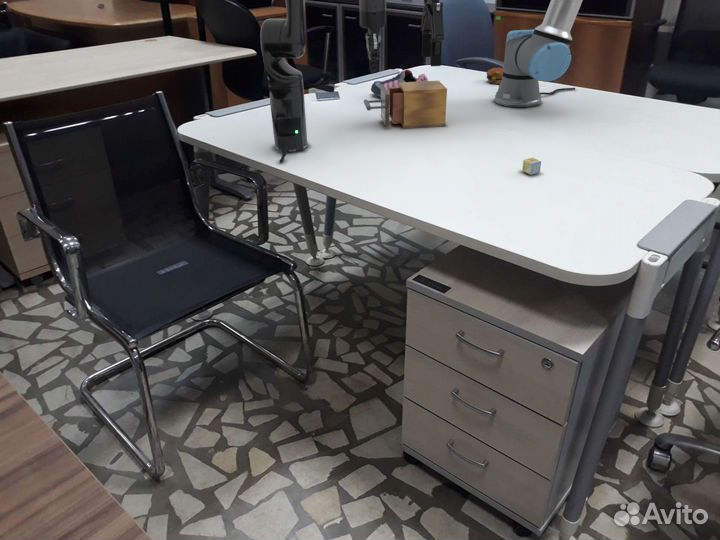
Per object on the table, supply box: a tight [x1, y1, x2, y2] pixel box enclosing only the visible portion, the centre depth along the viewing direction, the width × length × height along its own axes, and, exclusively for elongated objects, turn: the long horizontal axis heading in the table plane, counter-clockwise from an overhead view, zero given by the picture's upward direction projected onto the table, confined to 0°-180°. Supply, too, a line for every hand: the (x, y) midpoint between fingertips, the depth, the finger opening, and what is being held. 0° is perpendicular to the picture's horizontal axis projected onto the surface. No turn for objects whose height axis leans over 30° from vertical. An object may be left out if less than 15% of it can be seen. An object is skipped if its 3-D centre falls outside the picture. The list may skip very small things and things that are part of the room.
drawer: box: [363, 87, 404, 127], centre depth 174 cm, size 17×10×9 cm, turn 96°
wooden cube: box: [398, 80, 448, 129], centre depth 175 cm, size 13×11×11 cm
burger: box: [486, 67, 504, 85], centre depth 219 cm, size 10×9×5 cm
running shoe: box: [370, 69, 429, 98], centre depth 198 cm, size 9×26×11 cm, turn 44°
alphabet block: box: [522, 157, 542, 175], centre depth 139 cm, size 3×3×3 cm
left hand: (373, 72), depth 168 cm, fingers closed
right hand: (430, 61), depth 168 cm, fingers open, 13 cm apart
